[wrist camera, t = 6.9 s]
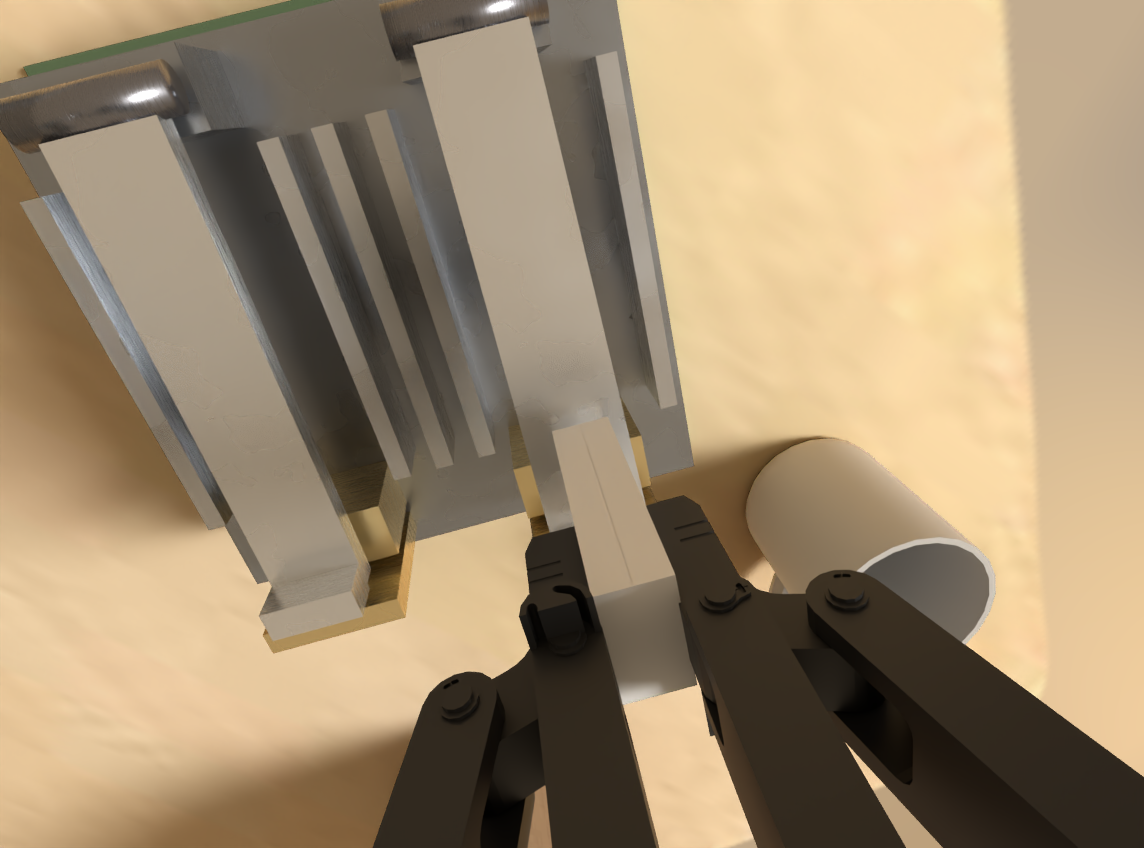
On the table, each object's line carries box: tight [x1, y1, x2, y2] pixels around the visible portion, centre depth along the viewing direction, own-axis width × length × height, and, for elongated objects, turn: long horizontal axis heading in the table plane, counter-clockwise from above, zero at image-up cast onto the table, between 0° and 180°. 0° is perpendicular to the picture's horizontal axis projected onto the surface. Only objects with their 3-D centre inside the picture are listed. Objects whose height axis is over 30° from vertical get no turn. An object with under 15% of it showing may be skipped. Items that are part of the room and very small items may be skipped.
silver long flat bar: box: [379, 0, 646, 532], centre depth 17 cm, size 4×15×2 cm, turn 13°
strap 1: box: [0, 59, 371, 641], centre depth 18 cm, size 4×15×2 cm, turn 13°
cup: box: [746, 438, 996, 644], centre depth 31 cm, size 7×10×9 cm
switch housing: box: [0, 0, 694, 653], centre depth 23 cm, size 20×21×10 cm
